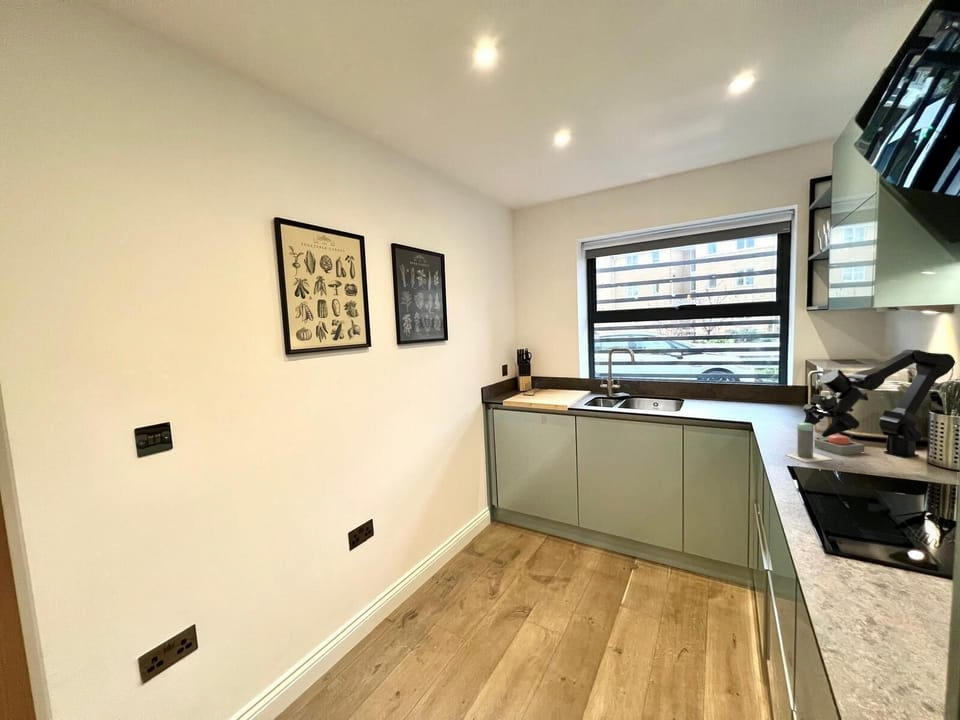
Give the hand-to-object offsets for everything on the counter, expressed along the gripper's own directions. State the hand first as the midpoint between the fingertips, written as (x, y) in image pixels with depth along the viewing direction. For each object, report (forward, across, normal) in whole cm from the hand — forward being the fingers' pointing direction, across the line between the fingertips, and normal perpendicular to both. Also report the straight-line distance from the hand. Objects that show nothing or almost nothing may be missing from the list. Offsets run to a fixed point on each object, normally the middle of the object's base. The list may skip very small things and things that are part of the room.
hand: (812, 432), depth 144 cm
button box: (-4, -7, +17) cm, 19 cm away
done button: (-5, -7, +16) cm, 19 cm away
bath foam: (-9, -23, +23) cm, 34 cm away
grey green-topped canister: (+8, 0, +4) cm, 9 cm away
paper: (+8, 0, +5) cm, 9 cm away
